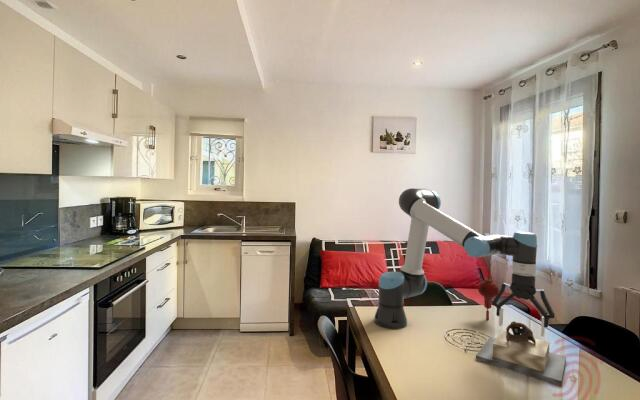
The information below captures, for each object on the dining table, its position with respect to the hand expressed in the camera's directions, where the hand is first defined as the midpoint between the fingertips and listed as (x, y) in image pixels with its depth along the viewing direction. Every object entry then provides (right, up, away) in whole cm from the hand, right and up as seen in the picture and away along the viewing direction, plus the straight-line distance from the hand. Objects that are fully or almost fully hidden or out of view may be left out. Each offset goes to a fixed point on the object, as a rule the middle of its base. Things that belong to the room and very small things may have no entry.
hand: (520, 330), depth 126 cm
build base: (0, -11, 0) cm, 11 cm away
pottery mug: (0, -5, +1) cm, 5 cm away
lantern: (+8, -11, +41) cm, 43 cm away
